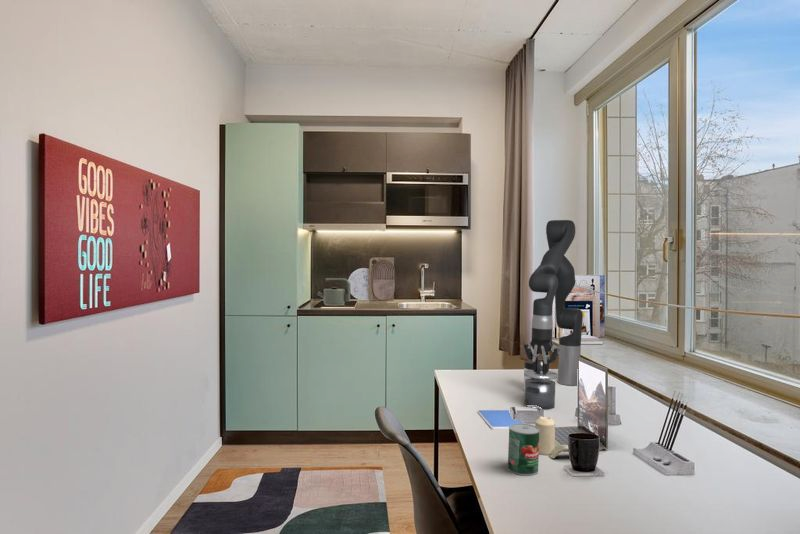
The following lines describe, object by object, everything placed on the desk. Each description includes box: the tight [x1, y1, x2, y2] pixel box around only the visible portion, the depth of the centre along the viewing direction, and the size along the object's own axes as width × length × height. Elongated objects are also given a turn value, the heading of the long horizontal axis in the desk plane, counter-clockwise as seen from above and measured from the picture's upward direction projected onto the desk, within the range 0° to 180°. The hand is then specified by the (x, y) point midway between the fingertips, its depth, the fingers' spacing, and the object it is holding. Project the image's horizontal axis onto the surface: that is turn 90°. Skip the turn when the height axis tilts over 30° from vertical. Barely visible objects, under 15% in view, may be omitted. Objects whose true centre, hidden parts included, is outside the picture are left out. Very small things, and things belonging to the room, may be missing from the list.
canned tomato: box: [507, 423, 540, 477], centre depth 142 cm, size 8×8×11 cm
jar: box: [523, 359, 533, 392], centre depth 224 cm, size 9×8×12 cm
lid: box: [523, 358, 558, 380], centre depth 202 cm, size 12×12×6 cm
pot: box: [524, 378, 556, 411], centre depth 202 cm, size 15×11×9 cm
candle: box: [534, 416, 556, 456], centre depth 155 cm, size 6×6×10 cm
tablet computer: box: [477, 409, 526, 430], centre depth 184 cm, size 19×13×1 cm, turn 6°
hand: (540, 372), depth 202 cm, fingers closed on lid, 3 cm apart
